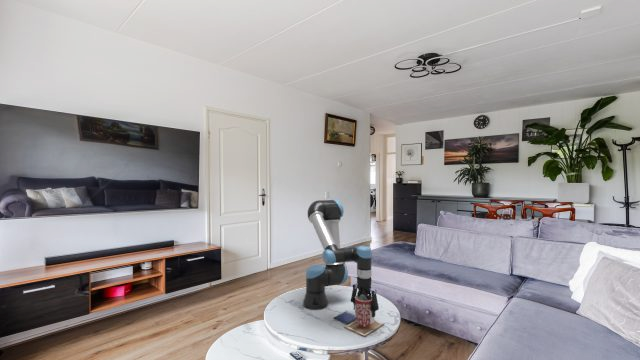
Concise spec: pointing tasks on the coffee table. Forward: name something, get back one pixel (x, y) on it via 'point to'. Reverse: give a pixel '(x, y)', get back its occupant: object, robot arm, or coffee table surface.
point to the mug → (363, 310)
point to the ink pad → (345, 318)
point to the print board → (364, 328)
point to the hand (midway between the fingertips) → (364, 319)
